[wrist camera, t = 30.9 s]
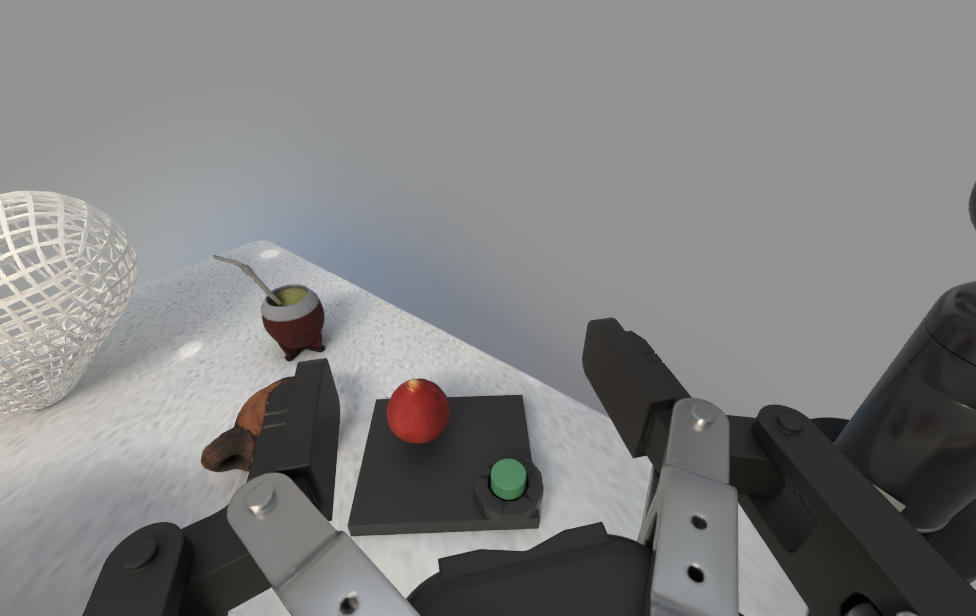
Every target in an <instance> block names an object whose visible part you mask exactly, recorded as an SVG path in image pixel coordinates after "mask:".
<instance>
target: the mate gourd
mask: <svg viewBox="0 0 976 616" xmlns="http://www.w3.org/2000/svg"><path fill="white" fill-rule="evenodd" d="M214 258H215V259H218V260H221V261H224V262H228V263H231V264H234V265H236V266H238V267H240V268H241V269H242V271H243V272H245V273H246V274H247V275H249V276H250V277H251V278H252V279H253V280H254V281H255V282H256V283H257V284H258V285H259V286H260V287H261V288H262V289H263V290H264V292H265V293H266V294H267V296H266V298H265V299H264V301H263V304H262V306H261V313H262V320H263V324H264V327H265V329H266V331H267V332H268V333H269V334H270V335H271V337H272V338H273V339H274V340H276V341H277V342H278V344H279V346H280V347H281V348H282V350H283V351H284V352H285V353H286V355H287V356H286V357H285V359H286V361H292V360H293V359H294V358H295V357H296V356H297V355H298V354H299V353H300V352H301V351H302V350H304V349H309V350H313V351H317V352H323V351H324V350H325V346H322V334H321V331H322V328H323V324H324V310H323V307H322V304H321V302H320V300H319V298H318V296H317V294H316V293H314V292H313V291H312V290H310V289H309V288H307V287H306V286H302V285H286V286H282V287H279V288H277V289H275V290H273V291H270V290H269V289H268V288H267V286H266V285H265V284H264V283H263V282H262V281H261V280H260V279H259V278H258V277H257V276H256V274H255V273H254V272H253V270H252V269H251V268H250V267H249V266H248V265H245V264H243V263H241V262H238V261H236V260H232V259H228V258H224V257H220V256H215V255H214Z"/></svg>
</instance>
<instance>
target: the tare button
mask: <svg viewBox="0 0 976 616" xmlns="http://www.w3.org/2000/svg"><path fill="white" fill-rule="evenodd" d="M525 485H526V471H525V468H524V467H523V465H522V464H521V463H520V462H518V461H516V460H514V459H502V460H500V461H498V462H497V463H495V465H494V466H493V467H492V470H491V488H492V490H493V492H494V493H495V494H496V495H497V496H498V497H500V498H502V499H505V500H513V499H516V498H518V497H519V496H520V495H522V493H523V492H524V490H525Z"/></svg>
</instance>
